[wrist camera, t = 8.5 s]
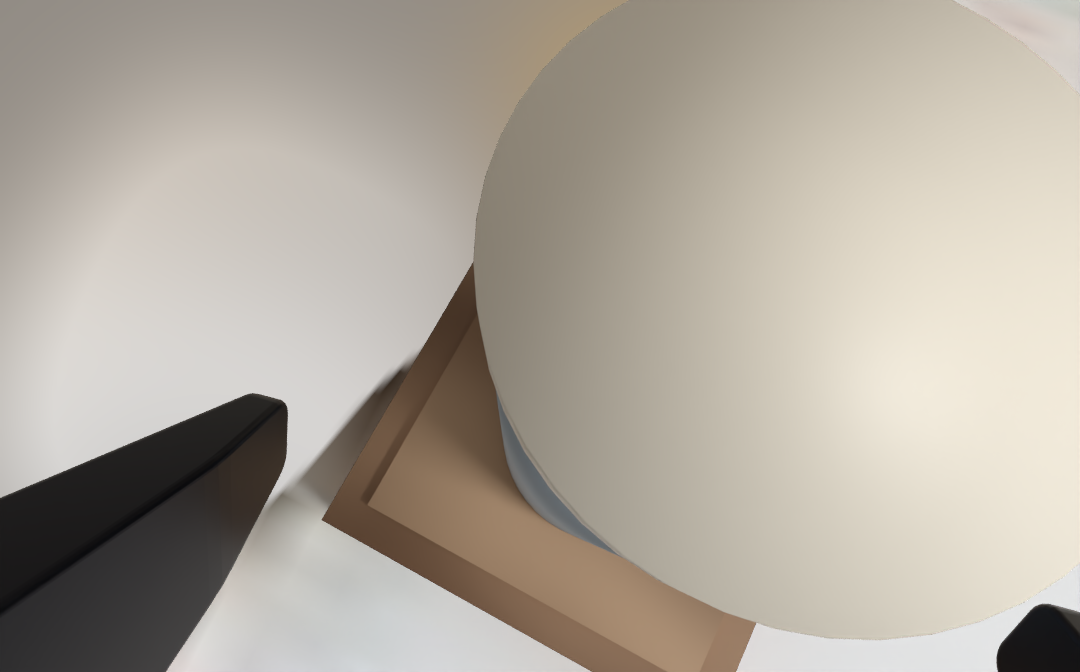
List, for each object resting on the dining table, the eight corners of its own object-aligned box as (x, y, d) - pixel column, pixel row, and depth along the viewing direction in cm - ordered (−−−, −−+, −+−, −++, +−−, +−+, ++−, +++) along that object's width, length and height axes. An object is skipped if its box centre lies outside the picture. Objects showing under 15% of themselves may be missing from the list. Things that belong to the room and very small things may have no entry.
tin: (517, 560, 16) (533, 707, 4) (487, 346, 17) (433, -4, 5) (732, 524, 16) (1295, 567, 5) (688, 318, 17) (1043, -68, 6)
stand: (686, 711, 17) (711, 740, 15) (342, 518, 18) (319, 519, 16) (834, 365, 20) (874, 347, 17) (522, 207, 20) (524, 172, 18)
